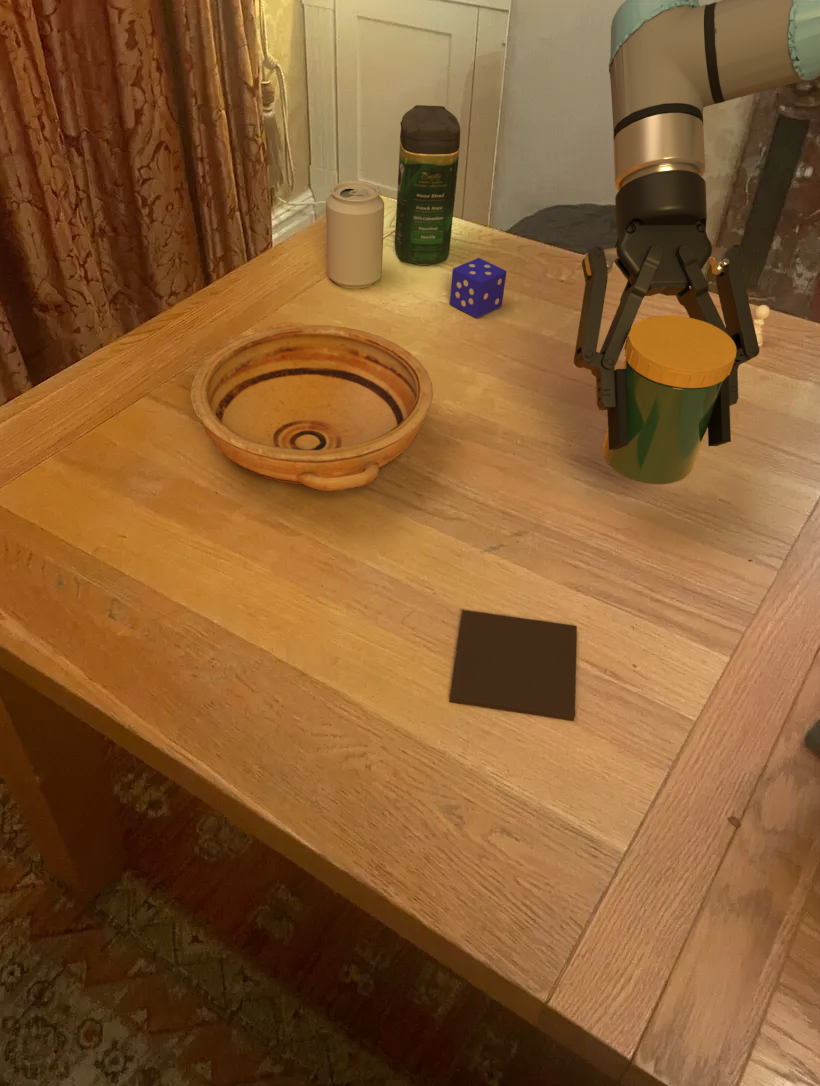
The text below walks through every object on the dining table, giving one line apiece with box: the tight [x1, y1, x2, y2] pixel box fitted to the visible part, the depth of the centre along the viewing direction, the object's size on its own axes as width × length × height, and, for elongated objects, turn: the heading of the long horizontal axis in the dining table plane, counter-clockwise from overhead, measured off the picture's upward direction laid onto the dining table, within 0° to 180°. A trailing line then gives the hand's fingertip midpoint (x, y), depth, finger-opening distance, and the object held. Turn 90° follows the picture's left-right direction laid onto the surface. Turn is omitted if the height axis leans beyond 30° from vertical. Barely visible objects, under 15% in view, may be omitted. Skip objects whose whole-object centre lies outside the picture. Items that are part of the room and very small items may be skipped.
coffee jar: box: [394, 104, 461, 266], centre depth 123 cm, size 10×8×19 cm
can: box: [325, 180, 385, 290], centre depth 119 cm, size 8×8×12 cm
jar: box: [601, 357, 724, 485], centre depth 80 cm, size 8×8×12 cm
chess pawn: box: [753, 304, 771, 348], centre depth 112 cm, size 3×3×5 cm
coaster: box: [448, 609, 578, 722], centre depth 76 cm, size 10×10×1 cm
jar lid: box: [623, 314, 737, 388], centre depth 76 cm, size 9×9×2 cm
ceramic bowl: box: [190, 321, 434, 492], centre depth 94 cm, size 30×24×8 cm
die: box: [449, 257, 507, 319], centre depth 117 cm, size 5×5×5 cm
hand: (669, 445), depth 79 cm, fingers closed on jar, 8 cm apart
